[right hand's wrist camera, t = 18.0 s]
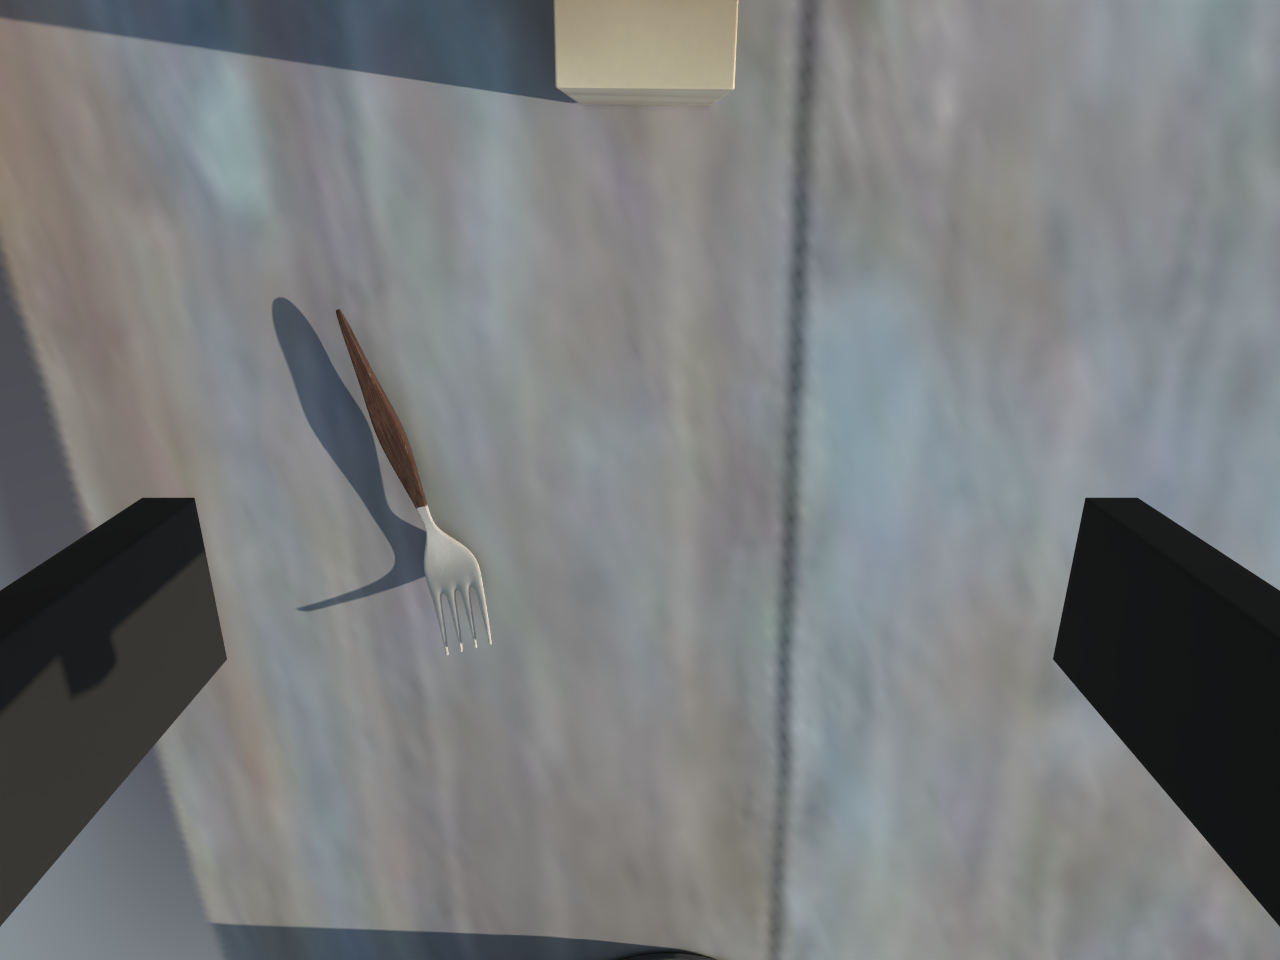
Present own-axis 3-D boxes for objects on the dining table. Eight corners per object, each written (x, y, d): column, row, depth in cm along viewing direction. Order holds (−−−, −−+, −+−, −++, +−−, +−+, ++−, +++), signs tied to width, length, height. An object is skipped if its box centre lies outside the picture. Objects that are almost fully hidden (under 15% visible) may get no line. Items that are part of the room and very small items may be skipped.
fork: (371, 298, 34) (355, 307, 32) (502, 620, 40) (495, 643, 38) (313, 316, 34) (294, 325, 33) (451, 633, 40) (442, 657, 38)
